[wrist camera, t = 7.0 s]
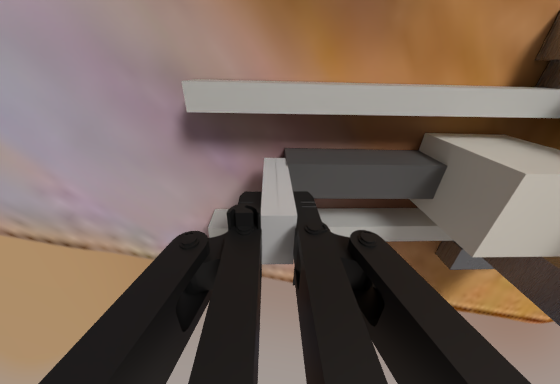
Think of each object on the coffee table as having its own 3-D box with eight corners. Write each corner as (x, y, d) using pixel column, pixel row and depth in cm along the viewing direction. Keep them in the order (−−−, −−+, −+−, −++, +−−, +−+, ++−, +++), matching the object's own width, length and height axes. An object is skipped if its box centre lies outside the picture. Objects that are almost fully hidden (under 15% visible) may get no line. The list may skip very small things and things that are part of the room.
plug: (282, 192, 17) (289, 259, 11) (285, 129, 15) (296, 171, 9) (472, 193, 18) (573, 256, 12) (504, 134, 16) (651, 175, 10)
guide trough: (217, 223, 19) (210, 243, 16) (195, 79, 13) (181, 81, 11) (462, 221, 20) (486, 240, 18) (535, 87, 14) (583, 90, 12)
